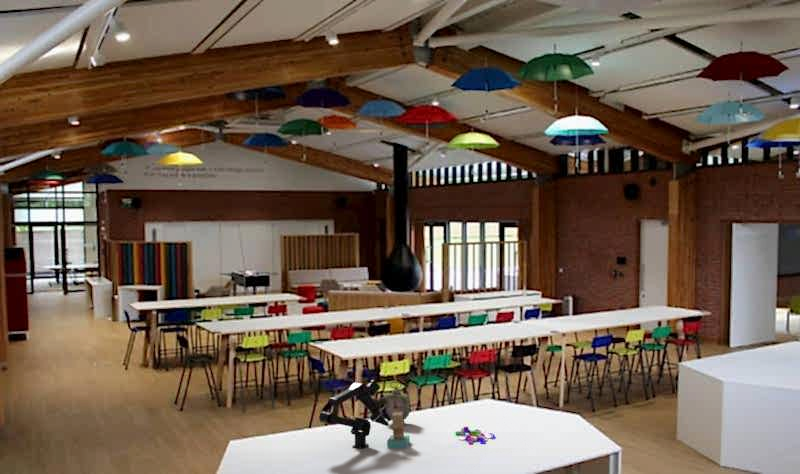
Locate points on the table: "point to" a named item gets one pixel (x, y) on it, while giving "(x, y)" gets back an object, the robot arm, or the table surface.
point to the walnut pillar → (398, 425)
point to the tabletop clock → (398, 403)
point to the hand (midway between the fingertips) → (389, 422)
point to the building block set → (470, 438)
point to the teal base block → (398, 442)
